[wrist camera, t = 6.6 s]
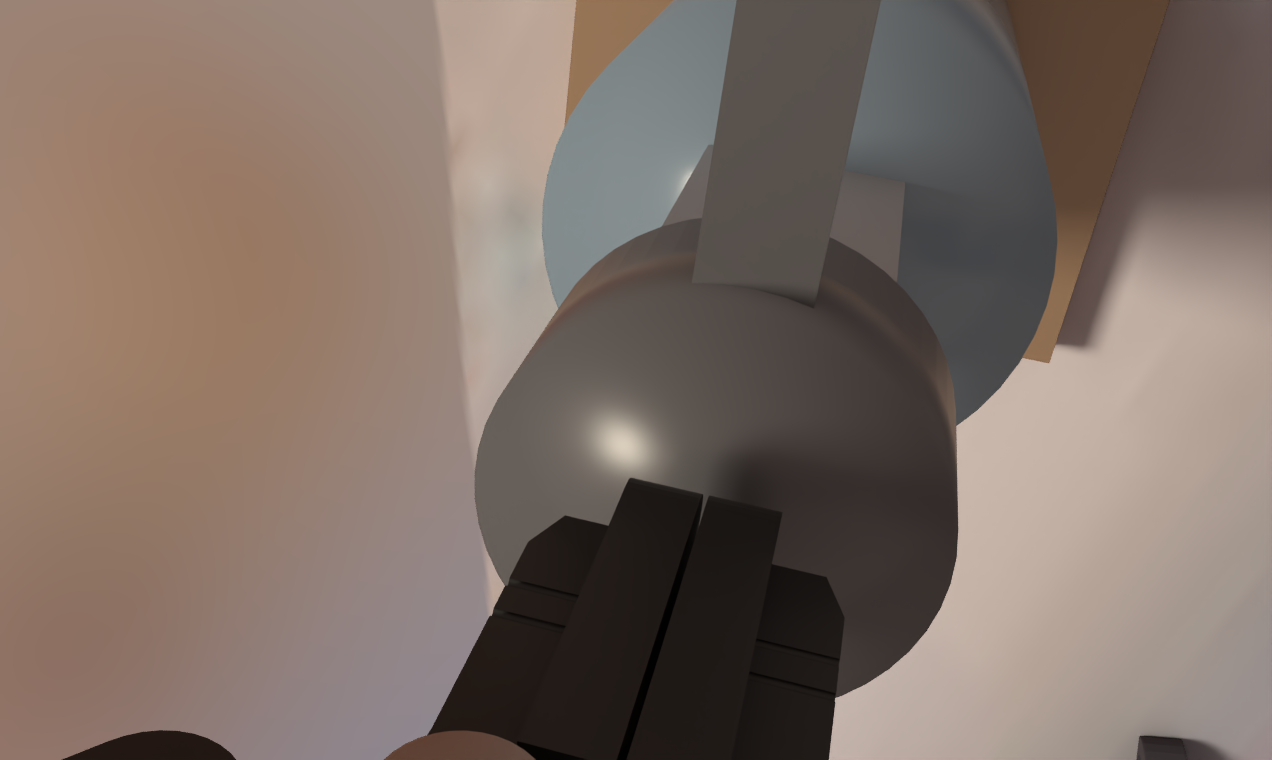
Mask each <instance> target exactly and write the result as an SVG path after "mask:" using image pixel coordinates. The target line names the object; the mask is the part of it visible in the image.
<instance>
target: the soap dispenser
mask: <svg viewBox="0 0 1272 760" xmlns="http://www.w3.org/2000/svg"><path fill="white" fill-rule="evenodd" d="M736 1H737V0H577V1H576V11H575V22H574V33H573V43H572V54H571V64H570V75H569V86H568V96H567V107H566V118H565V128H564V130H563V132H562V134H561V137H560V139H559V141H558V143H557V145H556V149H555V152H554V155H553V158H552V162H551V165H550V168H549V172H548V175H547V182H546V188H545V194H544V201H543V220H542V238H543V247H544V256H545V265H546V269H547V273H548V277H549V281H550V285H551V289H552V293H553V296H554V299H555V301H556V304H557V306H558V309H559V307H560V306H561V304H562V303H563V301H564V300H565V298H566V297H567V296H568V294H569V293H570V291H571V290H572V289H573V287H574V286H575V284H576V283H577V282H578V281H579V280H580V279H581V278H582V277H583V276H584V275H585V274H586V273H587V272H588V271H589V270H590V268H591V267H592V266H593V265H595V264H596V263H597V262H599V261H600V260H601V259H602V258H604V257H605V256H606V255H608V254H609V253H610V252H611V251H613V250H614V249H616V248H618V247H619V246H621V245H623V244H625V243H626V242H628V241H630V240H632V239H633V238H635V237H637V236H639V235H642V234H644V233H647V232H649V231H652V230H654V229H657V228H659V227H662V226H666V225H669V224H673V223H677V222H681V221H685V220H689V219H697V218H702V215H703V209H704V203H705V196H706V190H707V184H708V177H709V171H710V165H711V158H712V152H713V146H714V139H715V133H716V127H717V121H718V114H719V108H720V102H721V95H722V89H723V83H724V76H725V70H726V64H727V58H728V51H729V45H730V39H731V32H732V26H733V20H734V13H735V7H736ZM1169 1H1170V0H881V3H880V7H879V12H878V17H877V21H876V26H875V30H874V35H873V40H872V44H871V49H870V53H869V58H868V63H867V67H866V72H865V77H864V81H863V86H862V90H861V95H860V100H859V104H858V109H857V113H856V118H855V123H854V127H853V132H852V137H851V141H850V146H849V150H848V155H847V160H846V164H845V169H844V173H843V178H842V183H841V187H840V192H839V197H838V201H837V206H836V210H835V215H834V220H833V224H832V229H831V233H830V238H833V239H835V240H837V241H839V242H841V243H842V244H844V245H846V246H848V247H850V248H851V249H853V250H855V251H857V252H859V253H860V254H862V255H863V256H865V257H866V258H867V259H869V260H870V261H871V262H873V263H874V264H876V265H877V266H878V267H880V268H881V269H882V270H884V271H885V272H886V273H887V274H888V275H889V276H890V277H891V278H892V279H893V280H894V281H895V282H896V283H897V284H899V285H900V286H901V287H902V288H903V289H904V290H905V291H906V293H907V294H908V295H909V296H910V298H911V299H912V300H913V301H914V302H915V304H916V305H917V306H918V307H919V309H920V310H921V311H922V312H923V314H924V316H925V317H926V319H927V321H928V322H929V324H930V326H931V327H932V329H933V331H934V332H935V334H936V336H937V338H938V340H939V343H940V345H941V348H942V350H943V352H944V355H945V357H946V359H947V363H948V367H949V370H950V374H951V378H952V382H953V387H954V397H955V407H956V426H957V425H958V424H960V423H961V422H962V421H963V420H965V419H966V418H967V417H969V416H970V415H971V414H973V413H974V412H975V411H977V410H978V409H979V408H980V407H981V406H982V405H983V404H984V403H985V402H986V401H987V400H988V399H989V398H990V397H991V396H992V395H993V394H994V393H995V392H996V391H997V390H998V389H999V388H1000V387H1001V386H1002V384H1003V383H1004V382H1005V380H1006V379H1007V378H1008V377H1009V375H1010V374H1011V373H1012V371H1013V370H1014V369H1015V368H1016V366H1017V365H1018V364H1019V362H1020V360H1021V359H1022V358H1026V359H1031V360H1036V361H1041V362H1045V363H1049V362H1050V359H1051V356H1052V353H1053V350H1054V347H1055V344H1056V341H1057V338H1058V335H1059V332H1060V329H1061V326H1062V323H1063V320H1064V317H1065V314H1066V311H1067V308H1068V305H1069V302H1070V299H1071V296H1072V293H1073V290H1074V287H1075V284H1076V281H1077V278H1078V275H1079V272H1080V269H1081V266H1082V263H1083V260H1084V257H1085V254H1086V251H1087V248H1088V245H1089V242H1090V239H1091V236H1092V233H1093V230H1094V227H1095V224H1096V221H1097V218H1098V215H1099V212H1100V209H1101V206H1102V203H1103V200H1104V197H1105V194H1106V191H1107V188H1108V185H1109V182H1110V179H1111V176H1112V173H1113V170H1114V167H1115V164H1116V161H1117V158H1118V155H1119V152H1120V149H1121V146H1122V143H1123V140H1124V137H1125V134H1126V131H1127V128H1128V125H1129V121H1130V118H1131V115H1132V112H1133V109H1134V106H1135V103H1136V100H1137V97H1138V94H1139V91H1140V88H1141V85H1142V82H1143V79H1144V76H1145V73H1146V70H1147V67H1148V64H1149V61H1150V58H1151V55H1152V52H1153V49H1154V46H1155V43H1156V40H1157V37H1158V34H1159V31H1160V28H1161V25H1162V22H1163V19H1164V16H1165V13H1166V10H1167V7H1168V4H1169Z"/></svg>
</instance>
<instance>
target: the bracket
mask: <svg viewBox="0 0 1272 760" xmlns="http://www.w3.org/2000/svg"><path fill="white" fill-rule="evenodd" d="M1137 760H1187V757H1186V752H1185V748H1184V745H1183V742H1182V740H1181V739H1172V738H1159V737H1147V736H1140V737H1139V743H1138V752H1137Z"/></svg>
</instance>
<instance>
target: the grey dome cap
mask: <svg viewBox="0 0 1272 760" xmlns="http://www.w3.org/2000/svg"><path fill="white" fill-rule="evenodd" d="M880 3H881V0H737V1H736V7H735V13H734V20H733V26H732V32H731V39H730V45H729V51H728V58H727V64H726V70H725V76H724V83H723V89H722V95H721V102H720V108H719V114H718V121H717V127H716V133H715V139H714V146H713V152H712V158H711V165H710V171H709V177H708V184H707V190H706V196H705V203H704V209H703V215H702V218H697V219H689V220H685V221H681V222H677V223H673V224H669V225H666V226H662V227H659V228H657V229H654V230H652V231H649V232H647V233H644V234H642V235H639V236H637V237H635V238H633V239H632V240H630V241H628V242H626V243H625V244H623V245H621V246H619V247H618V248H616V249H614V250H613V251H611V252H610V253H609V254H608V255H606V256H605V257H604V258H602V259H601V260H600V261H599V262H597V263H596V264H595V265H593V266H592V267H591V268H590V270H589V271H588V272H587V273H586V274H585V275H584V276H583V277H582V278H581V279H580V280H579V281H578V282H577V283H576V284H575V286H574V287H573V289H572V290H571V291H570V293H569V294H568V296H567V297H566V298H565V300H564V301H563V303H562V304H561V306H560V307H559V309H558V310H557V312H556V313H555V315H554V316H553V318H552V319H551V321H550V322H549V324H548V325H547V327H546V328H545V330H544V331H543V332H542V334H541V335H540V337H539V338H538V340H537V341H536V343H535V344H534V346H533V347H532V349H531V350H530V352H529V353H528V355H527V356H526V358H525V359H524V361H523V362H522V364H521V365H520V367H519V368H518V370H517V371H516V373H515V374H514V376H513V377H512V379H511V380H510V382H509V383H508V385H507V386H506V388H505V389H504V391H503V392H502V394H501V395H500V397H499V398H498V400H497V402H496V404H495V406H494V408H493V410H492V412H491V414H490V416H489V418H488V420H487V422H486V425H485V428H484V431H483V434H482V438H481V441H480V444H479V447H478V454H477V461H476V468H475V502H476V509H477V515H478V521H479V526H480V529H481V533H482V536H483V539H484V543H485V546H486V549H487V551H488V554H489V556H490V558H491V560H492V562H493V565H494V567H495V569H496V571H497V573H498V575H499V577H500V578H501V580H502V582H503V583H504V585H508V582H509V578H510V576H511V574H512V572H513V570H514V568H515V566H516V564H517V562H518V560H519V558H520V556H521V554H522V552H523V551H524V549H525V547H526V545H527V543H528V541H530V540H531V539H533V538H534V537H535V536H537V535H538V534H540V533H541V532H542V531H544V530H545V529H547V528H548V527H549V526H551V525H552V524H554V523H555V522H556V521H558V520H559V519H561V518H562V517H563V516H565V515H566V516H570V517H574V518H578V519H583V520H587V521H591V522H595V523H600V524H604V525H608V526H609V523H610V521H611V519H612V516H613V514H614V512H615V509H616V507H617V505H618V502H619V500H620V498H621V495H622V493H623V490H624V488H625V486H626V484H627V482H628V480H629V479H630V478H635V479H640V480H644V481H648V482H653V483H657V484H661V485H666V486H670V487H674V488H679V489H683V490H687V491H692V492H696V493H700V494H703V504H702V511H701V516H700V522H701V518H702V515H703V512H704V509H705V506H706V502H707V499H708V497H709V495H710V496H715V497H719V498H723V499H728V500H732V501H736V502H741V503H745V504H749V505H754V506H758V507H762V508H767V509H771V510H775V511H780V512H783V513H782V518H781V523H780V527H779V532H778V537H777V542H776V547H775V551H774V556H773V561H772V564H774V565H778V566H782V567H787V568H791V569H795V570H799V571H803V572H808V573H812V574H816V575H820V576H824V577H827V579H828V581H829V584H830V586H831V588H832V590H833V593H834V595H835V597H836V599H837V601H838V604H839V606H840V608H841V610H842V613H843V615H844V617H845V620H844V629H843V638H842V647H841V655H840V661H839V673H838V682H837V691H836V696H835V698H836V697H839V696H842V695H844V694H846V693H848V692H850V691H852V690H854V689H857V688H859V687H861V686H863V685H865V684H867V683H868V682H870V681H871V680H873V679H874V678H876V677H877V676H879V675H881V674H882V673H884V672H885V671H887V670H888V669H890V668H891V667H892V666H893V665H894V664H895V663H896V662H898V661H899V660H900V659H901V658H902V657H903V656H904V655H906V654H907V653H908V652H909V651H910V650H911V649H912V647H913V646H914V645H915V644H916V643H917V642H918V640H919V639H920V638H921V637H922V636H923V635H924V633H925V632H926V631H927V629H928V628H929V626H930V624H931V623H932V621H933V620H934V618H935V616H936V615H937V613H938V611H939V610H940V608H941V606H942V603H943V601H944V598H945V596H946V593H947V591H948V589H949V586H950V584H951V579H952V575H953V571H954V566H955V562H956V557H957V540H958V497H957V444H956V407H955V397H954V387H953V382H952V378H951V374H950V370H949V367H948V363H947V359H946V357H945V355H944V352H943V350H942V348H941V345H940V343H939V340H938V338H937V336H936V334H935V332H934V331H933V329H932V327H931V326H930V324H929V322H928V321H927V319H926V317H925V316H924V314H923V312H922V311H921V310H920V309H919V307H918V306H917V305H916V304H915V302H914V301H913V300H912V299H911V298H910V296H909V295H908V294H907V293H906V291H905V290H904V289H903V288H902V287H901V286H900V285H899V284H897V283H896V282H895V281H894V280H893V279H892V278H891V277H890V276H889V275H888V274H887V273H886V272H885V271H884V270H882V269H881V268H880V267H878V266H877V265H876V264H874V263H873V262H871V261H870V260H869V259H867V258H866V257H865V256H863V255H862V254H860V253H859V252H857V251H855V250H853V249H851V248H850V247H848V246H846V245H844V244H842V243H841V242H839V241H837V240H835V239H833V238H830V233H831V229H832V224H833V220H834V215H835V210H836V206H837V201H838V197H839V192H840V187H841V183H842V178H843V173H844V169H845V164H846V160H847V155H848V150H849V146H850V141H851V137H852V132H853V127H854V123H855V118H856V113H857V109H858V104H859V100H860V95H861V90H862V86H863V81H864V77H865V72H866V67H867V63H868V58H869V53H870V49H871V44H872V40H873V35H874V30H875V26H876V21H877V17H878V12H879V7H880ZM700 522H699V525H700ZM698 528H699V527H698Z"/></svg>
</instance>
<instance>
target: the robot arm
mask: <svg viewBox="0 0 1272 760" xmlns="http://www.w3.org/2000/svg"><path fill="white" fill-rule="evenodd" d="M702 504H703V494H700V493H696V492H692V491H687V490H683V489H679V488H674V487H670V486H666V485H661V484H657V483H653V482H648V481H644V480H640V479H635V478H630V479H629V480H628V482H627V484H626V486H625V488H624V490H623V493H622V495H621V498H620V500H619V502H618V505H617V507H616V509H615V512H614V514H613V516H612V519H611V521H610V523H609V526H608V525H604V524H600V523H595V522H591V521H587V520H583V519H578V518H574V517H570V516H566V515H565V516H563V517H562V518H561V519H559V520H558V521H556V522H555V523H554V524H552V525H551V526H549V527H548V528H547V529H545V530H544V531H542V532H541V533H540V534H538V535H537V536H535V537H534V538H533V539H531V540H530V541H528V543H527V545H526V547H525V549H524V551H523V552H522V554H521V556H520V558H519V560H518V562H517V564H516V566H515V568H514V570H513V572H512V574H511V576H510V578H509V582H508V585H505V587H504V589H503V591H502V593H501V595H500V597H499V599H498V601H497V603H496V605H495V607H494V610H493V614H492V616H489V618H488V620H487V622H486V624H485V626H484V628H483V630H482V632H481V634H480V636H479V638H478V640H477V642H476V644H475V646H474V647H473V649H472V651H471V653H470V655H469V657H468V659H467V661H466V663H465V665H464V667H463V669H462V671H461V673H460V674H459V676H458V678H457V680H456V682H455V684H454V686H453V688H452V690H451V692H450V694H449V696H448V698H447V700H446V702H445V704H444V706H443V707H442V710H441V711H440V713H439V715H438V717H437V719H436V721H435V723H434V725H433V727H432V729H431V730H430V732H429V733H428V735H427V736H423V737H420V738H417V739H415V740H413V741H411V742H408V743H406V744H404V745H403V746H401V747H400V748H398V749H397V750H395V751H393V752H392V753H391V754H390V755H389V756H388V757H386V758H385V759H384V760H829V752H830V743H831V735H832V726H833V717H834V708H835V696H836V691H837V682H838V673H839V661H840V655H841V647H842V638H843V629H844V620H845V617H844V615H843V613H842V610H841V608H840V606H839V604H838V601H837V599H836V597H835V595H834V593H833V590H832V588H831V586H830V584H829V581H828V579H827V577H824V576H820V575H816V574H812V573H808V572H803V571H799V570H795V569H791V568H787V567H782V566H778V565H774V564H772V561H773V556H774V551H775V547H776V542H777V537H778V532H779V527H780V523H781V518H782V513H783V512H780V511H775V510H771V509H767V508H762V507H758V506H754V505H749V504H745V503H741V502H736V501H732V500H728V499H723V498H719V497H715V496H710V495H709V497H708V499H707V502H706V506H705V509H704V512H703V515H702V518H701V522H700V516H701V511H702ZM699 522H700V525H699ZM698 527H699V528H698ZM63 760H236V759H235V758H234V757H233V755H232V754H231V753H230V752H228V751H227V750H226V749H225V748H223V747H222V746H221V745H219V744H217V743H215V742H214V741H212V740H210V739H208V738H205V737H202V736H199V735H196V734H192V733H186V732H180V731H163V730H159V731H149V732H140V733H136V734H131V735H126V736H123V737H120V738H117V739H114V740H111V741H108V742H105V743H103V744H100V745H98V746H95V747H93V748H90V749H88V750H85V751H83V752H80V753H78V754H75V755H73V756H70V757H68V758H65V759H63Z"/></svg>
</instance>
